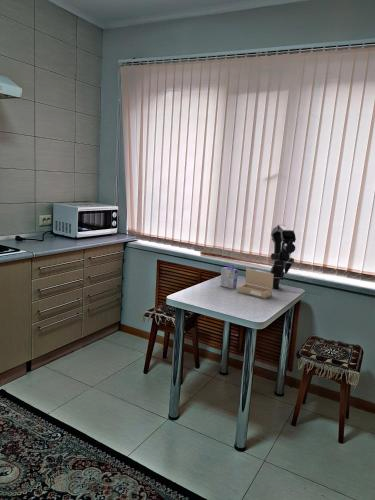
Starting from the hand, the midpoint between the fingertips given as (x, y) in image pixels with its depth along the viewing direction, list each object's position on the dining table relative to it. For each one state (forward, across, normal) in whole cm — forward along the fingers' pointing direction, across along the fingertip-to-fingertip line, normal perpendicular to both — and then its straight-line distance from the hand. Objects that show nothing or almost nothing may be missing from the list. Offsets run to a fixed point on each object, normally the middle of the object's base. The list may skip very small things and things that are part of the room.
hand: (282, 274), depth 240 cm
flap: (+4, +8, -12) cm, 15 cm away
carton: (+13, +12, -12) cm, 21 cm away
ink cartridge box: (+13, +10, -32) cm, 36 cm away
